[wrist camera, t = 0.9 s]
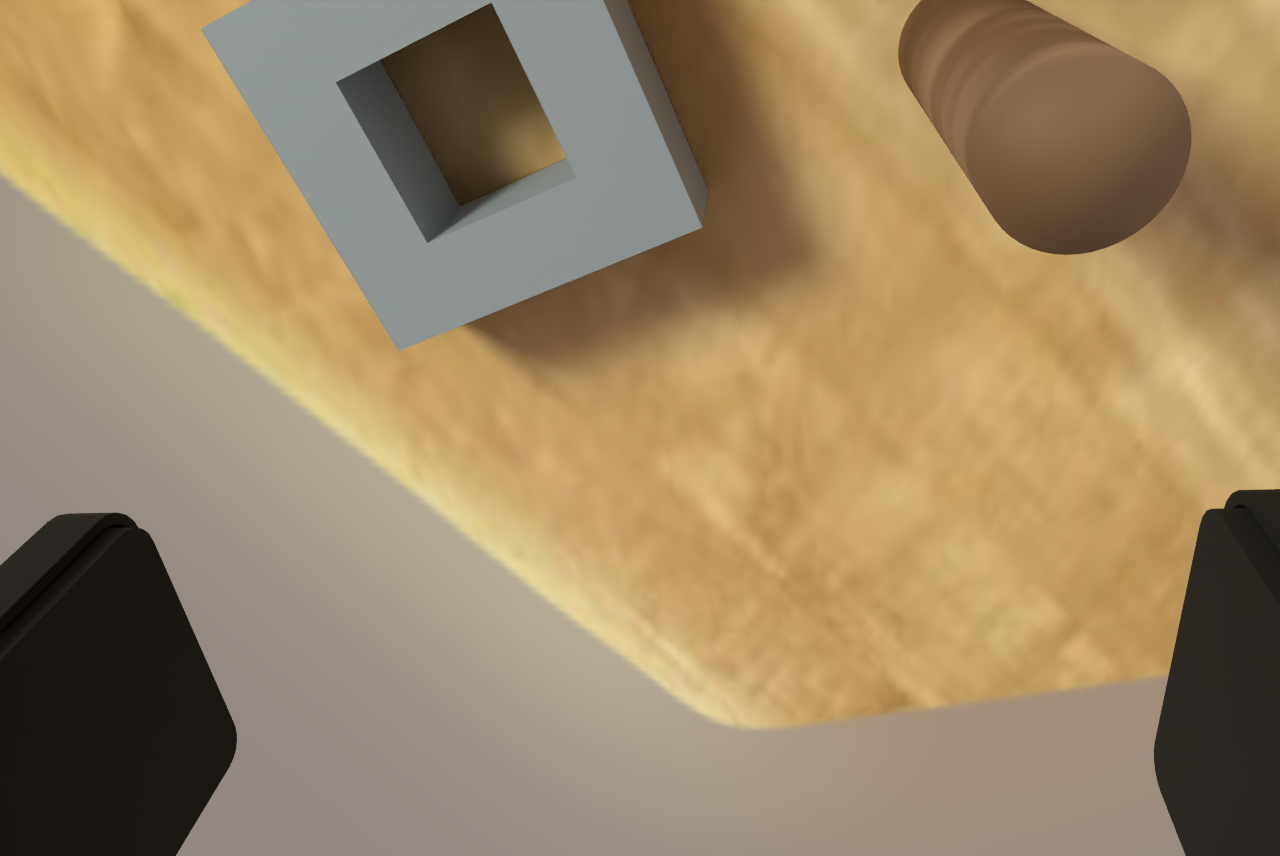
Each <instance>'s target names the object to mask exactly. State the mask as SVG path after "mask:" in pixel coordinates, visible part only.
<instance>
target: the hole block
mask: <svg viewBox="0 0 1280 856" xmlns="http://www.w3.org/2000/svg"><path fill="white" fill-rule="evenodd" d="M489 3H492V5H493V7H494V9H495V11H496V13H497V15H498V17H499V19H500V21H501V23H502V25H503V27H504V29H505V31H506V33H507V36H508V38H509V40H510V42H511V44H512V46H513V48H514V50H515V52H516V54H517V56H518V58H519V60H520V62H521V64H522V66H523V69H524V71H525V73H526V75H527V77H528V79H529V81H530V83H531V85H532V87H533V89H534V91H535V93H536V95H537V97H538V99H539V102H540V104H541V106H542V108H543V110H544V112H545V114H546V116H547V118H548V120H549V122H550V124H551V126H552V128H553V130H554V133H555V135H556V137H557V139H558V141H559V143H560V145H561V147H562V149H563V151H564V153H565V155H566V157H567V158H566V159H564V160H562V161H560V162H557V163H555V164H553V165H551V166H548V167H546V168H544V169H542V170H539V171H537V172H535V173H533V174H531V175H528V176H526V177H524V178H522V179H519V180H517V181H515V182H513V183H510V184H508V185H506V186H504V187H502V188H499V189H497V190H495V191H493V192H490V193H488V194H486V195H484V196H481V197H479V198H477V199H475V200H473V201H470V202H468V203H466V204H464V205H461V206H459V204H458V202H457V200H456V198H455V196H454V195H453V193H452V191H451V189H450V187H449V185H448V184H447V182H446V180H445V178H444V176H443V174H442V173H441V171H440V169H439V167H438V165H437V163H436V162H435V160H434V158H433V156H432V154H431V152H430V151H429V149H428V147H427V145H426V143H425V141H424V140H423V138H422V136H421V134H420V132H419V130H418V129H417V127H416V125H415V123H414V121H413V119H412V118H411V116H410V114H409V112H408V110H407V108H406V107H405V105H404V103H403V101H402V99H401V97H400V96H399V94H398V92H397V90H396V88H395V86H394V85H393V83H392V81H391V79H390V77H389V75H388V74H387V72H386V70H385V68H384V66H383V64H382V63H381V61H380V59H382V58H384V57H386V56H388V55H390V54H392V53H394V52H396V51H398V50H400V49H402V48H404V47H406V46H408V45H409V44H411V43H413V42H415V41H417V40H419V39H421V38H423V37H425V36H427V35H429V34H431V33H433V32H435V31H437V30H439V29H441V28H443V27H445V26H446V25H448V24H450V23H452V22H454V21H456V20H458V19H460V18H462V17H464V16H466V15H468V14H470V13H472V12H474V11H476V10H478V9H480V8H482V7H483V6H485V5H487V4H489ZM201 30H202V32H203V34H204V35H205V37H206V39H207V40H208V42H209V43H210V45H211V47H212V48H213V50H214V52H215V53H216V55H217V56H218V58H219V60H220V61H221V63H222V65H223V66H224V68H225V69H226V71H227V73H228V74H229V76H230V78H231V79H232V81H233V82H234V84H235V86H236V87H237V89H238V91H239V92H240V94H241V95H242V97H243V99H244V100H245V102H246V104H247V105H248V107H249V108H250V110H251V112H252V113H253V115H254V117H255V118H256V120H257V121H258V123H259V125H260V126H261V128H262V130H263V131H264V133H265V134H266V136H267V138H268V139H269V141H270V143H271V144H272V146H273V147H274V149H275V151H276V152H277V154H278V156H279V157H280V159H281V160H282V162H283V164H284V165H285V167H286V169H287V170H288V172H289V173H290V175H291V177H292V178H293V180H294V182H295V183H296V185H297V186H298V188H299V190H300V191H301V193H302V195H303V196H304V198H305V199H306V201H307V203H308V204H309V206H310V208H311V209H312V211H313V212H314V214H315V216H316V217H317V219H318V221H319V222H320V224H321V225H322V227H323V229H324V230H325V232H326V234H327V235H328V237H329V238H330V240H331V242H332V243H333V245H334V247H335V248H336V250H337V251H338V253H339V255H340V256H341V258H342V260H343V261H344V263H345V264H346V266H347V268H348V269H349V271H350V273H351V274H352V276H353V277H354V279H355V281H356V282H357V284H358V286H359V287H360V289H361V290H362V292H363V294H364V295H365V297H366V299H367V300H368V302H369V303H370V305H371V307H372V308H373V310H374V312H375V313H376V315H377V316H378V318H379V320H380V321H381V323H382V325H383V326H384V328H385V329H386V331H387V333H388V334H389V336H390V338H391V339H392V341H393V342H394V344H395V346H396V347H397V349H398V351H400V350H402V349H405V348H407V347H410V346H412V345H415V344H417V343H420V342H422V341H425V340H427V339H430V338H432V337H434V336H437V335H439V334H442V333H444V332H447V331H449V330H452V329H454V328H457V327H459V326H462V325H464V324H466V323H469V322H471V321H474V320H476V319H479V318H481V317H484V316H486V315H489V314H491V313H494V312H496V311H498V310H501V309H503V308H506V307H508V306H511V305H513V304H516V303H518V302H521V301H523V300H526V299H528V298H530V297H533V296H535V295H538V294H540V293H543V292H545V291H548V290H550V289H553V288H555V287H558V286H560V285H562V284H565V283H567V282H570V281H572V280H575V279H577V278H580V277H582V276H585V275H587V274H590V273H592V272H595V271H597V270H599V269H602V268H604V267H607V266H609V265H612V264H614V263H617V262H619V261H622V260H624V259H627V258H629V257H631V256H634V255H636V254H639V253H641V252H644V251H646V250H649V249H651V248H654V247H656V246H659V245H661V244H663V243H666V242H668V241H671V240H673V239H676V238H678V237H681V236H683V235H686V234H688V233H691V232H693V231H695V230H698V229H700V228H703V221H704V215H705V209H706V203H707V196H708V189H707V186H706V184H705V182H704V179H703V177H702V174H701V172H700V170H699V167H698V165H697V163H696V160H695V158H694V156H693V153H692V151H691V149H690V146H689V144H688V142H687V139H686V137H685V135H684V132H683V130H682V128H681V125H680V123H679V121H678V118H677V116H676V114H675V111H674V109H673V106H672V104H671V102H670V99H669V97H668V95H667V92H666V90H665V88H664V85H663V83H662V81H661V78H660V76H659V74H658V71H657V69H656V67H655V64H654V62H653V60H652V57H651V55H650V53H649V50H648V48H647V46H646V43H645V41H644V38H643V36H642V34H641V31H640V29H639V27H638V24H637V22H636V20H635V17H634V15H633V13H632V10H631V8H630V6H629V3H628V1H627V0H251V1H250V2H248V3H246V4H244V5H243V6H241V7H239V8H237V9H235V10H234V11H232V12H230V13H228V14H226V15H225V16H223V17H221V18H219V19H218V20H216V21H214V22H212V23H210V24H209V25H207V26H205V27H203V28H202V29H201Z"/></svg>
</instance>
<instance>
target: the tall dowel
mask: <svg viewBox="0 0 1280 856" xmlns="http://www.w3.org/2000/svg"><path fill="white" fill-rule="evenodd" d="M898 56H899V65H900V69H901V73H902V75H903V78H904V80H905V82H906V83H907V85H908V87H909V88H910V90H911V91H912V93H913V95H914V96H915V98H916V99H917V101H918V102H919V104H920V105H921V107H922V108H923V110H924V111H925V113H926V115H927V116H928V118H929V119H930V121H931V122H932V124H933V125H934V127H935V128H936V130H937V132H938V133H939V135H940V136H941V138H942V139H943V141H944V142H945V144H946V145H947V147H948V148H949V150H950V152H951V153H952V155H953V156H954V158H955V159H956V161H957V162H958V164H959V165H960V167H961V168H962V170H963V172H964V173H965V175H966V176H967V178H968V179H969V181H970V182H971V184H972V185H973V187H974V189H975V190H976V192H977V193H978V195H979V196H980V198H981V199H982V201H983V202H984V204H985V205H986V207H987V209H988V210H989V212H990V213H991V215H992V216H993V218H994V219H995V221H996V222H997V223H998V224H999V226H1000V227H1001V228H1002V229H1003V230H1004V231H1005V232H1006V233H1007V234H1008V235H1009V236H1011V237H1012V238H1014V239H1015V240H1017V241H1018V242H1019V243H1021V244H1023V245H1025V246H1028V247H1030V248H1032V249H1035V250H1038V251H1041V252H1046V253H1052V254H1064V255H1069V254H1082V253H1087V252H1093V251H1096V250H1100V249H1103V248H1106V247H1109V246H1111V245H1114V244H1116V243H1118V242H1120V241H1122V240H1124V239H1126V238H1128V237H1129V236H1131V235H1133V234H1134V233H1136V232H1137V231H1138V230H1140V229H1141V228H1143V227H1144V226H1145V225H1146V224H1147V223H1149V222H1150V221H1151V220H1152V219H1153V218H1154V217H1155V216H1156V215H1157V214H1158V213H1159V212H1160V211H1161V210H1162V209H1163V208H1164V206H1165V205H1166V204H1167V202H1168V201H1169V200H1170V198H1171V197H1172V196H1173V194H1174V192H1175V190H1176V189H1177V187H1178V185H1179V183H1180V181H1181V179H1182V177H1183V174H1184V172H1185V169H1186V166H1187V162H1188V159H1189V153H1190V147H1191V127H1190V119H1189V116H1188V112H1187V109H1186V106H1185V104H1184V102H1183V100H1182V97H1181V96H1180V94H1179V93H1178V91H1177V90H1176V88H1175V87H1174V85H1173V84H1172V83H1171V82H1170V81H1169V80H1168V79H1167V78H1166V77H1165V76H1164V75H1162V74H1161V73H1160V72H1158V71H1157V70H1156V69H1154V68H1152V67H1150V66H1148V65H1146V64H1145V63H1143V62H1141V61H1139V60H1137V59H1135V58H1133V57H1131V56H1129V55H1128V54H1126V53H1124V52H1122V51H1120V50H1118V49H1116V48H1114V47H1112V46H1111V45H1109V44H1107V43H1105V42H1103V41H1101V40H1099V39H1097V38H1096V37H1094V36H1092V35H1090V34H1088V33H1086V32H1084V31H1082V30H1080V29H1079V28H1077V27H1075V26H1073V25H1071V24H1069V23H1067V22H1065V21H1063V20H1062V19H1060V18H1058V17H1056V16H1054V15H1052V14H1050V13H1048V12H1047V11H1045V10H1043V9H1041V8H1039V7H1037V6H1035V5H1033V4H1031V3H1030V2H1028V1H1026V0H921V1H920V3H919V4H918V5H917V6H916V7H915V8H914V10H913V11H912V13H911V14H910V16H909V17H908V19H907V21H906V23H905V25H904V28H903V30H902V34H901V37H900V42H899V55H898Z"/></svg>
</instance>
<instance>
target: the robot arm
mask: <svg viewBox="0 0 1280 856" xmlns="http://www.w3.org/2000/svg"><path fill="white" fill-rule="evenodd" d="M236 743H237V734H236V728H235V725H234V723H233V720H232V718H231V715H230V713H229V711H228V709H227V706H226V704H225V702H224V700H223V697H222V695H221V693H220V691H219V688H218V686H217V684H216V682H215V679H214V677H213V675H212V672H211V670H210V668H209V666H208V663H207V661H206V659H205V657H204V654H203V652H202V650H201V648H200V646H199V643H198V641H197V639H196V636H195V634H194V632H193V629H192V627H191V625H190V623H189V621H188V618H187V616H186V614H185V611H184V609H183V607H182V605H181V603H180V600H179V598H178V596H177V593H176V591H175V589H174V587H173V584H172V582H171V580H170V577H169V576H168V573H167V571H166V568H165V566H164V564H163V562H162V559H161V557H160V555H159V553H158V550H157V548H156V546H155V544H154V541H153V540H152V538H151V537H150V535H149V533H147V532H146V531H145V530H143V529H140V528H138V526H137V525H136V523H135V522H134V521H133V520H132V519H131V518H129V517H128V516H127V515H124V514H120V513H79V514H64V515H59V516H56V517H55V518H53V519H52V520H50V521H49V522H47V523H46V524H45V525H44V526H43V527H42V528H41V529H40V530H39V531H37V532H36V533H35V534H34V535H33V536H32V537H31V538H30V539H29V540H28V541H27V542H25V543H24V544H23V545H22V546H21V547H20V548H19V549H18V550H17V551H16V552H15V553H14V554H12V555H11V556H10V557H9V558H8V559H7V560H6V561H5V562H4V563H3V564H1V565H0V856H176V854H177V853H178V851H179V849H180V848H181V846H182V844H183V843H184V841H185V839H186V838H187V836H188V834H189V833H190V831H191V829H192V828H193V826H194V824H195V823H196V821H197V819H198V818H199V816H200V814H201V813H202V811H203V809H204V808H205V806H206V805H207V803H208V801H209V800H210V798H211V796H212V795H213V793H214V791H215V790H216V788H217V786H218V785H219V783H220V781H221V780H222V778H223V777H224V775H225V773H226V772H227V770H228V768H229V767H230V764H231V762H232V760H233V758H234V754H235V751H236ZM1154 763H1155V772H1156V776H1157V781H1158V785H1159V788H1160V791H1161V794H1162V796H1163V799H1164V801H1165V804H1166V806H1167V809H1168V811H1169V814H1170V817H1171V819H1172V822H1173V824H1174V827H1175V829H1176V832H1177V834H1178V837H1179V840H1180V842H1181V845H1182V847H1183V850H1184V852H1185V855H1186V856H1280V489H1275V490H1238V491H1236V492H1234V493H1232V494H1231V496H1230V497H1229V498H1228V500H1227V501H1226V504H1225V507H1224V509H1210V510H1208V511H1206V513H1205V514H1204V516H1203V517H1202V520H1201V524H1200V527H1199V532H1198V537H1197V542H1196V547H1195V552H1194V556H1193V561H1192V566H1191V571H1190V576H1189V580H1188V585H1187V590H1186V595H1185V600H1184V604H1183V609H1182V614H1181V619H1180V624H1179V629H1178V633H1177V638H1176V643H1175V648H1174V653H1173V657H1172V662H1171V667H1170V672H1169V677H1168V682H1167V686H1166V692H1165V696H1164V701H1163V706H1162V710H1161V715H1160V720H1159V725H1158V730H1157V734H1156V739H1155V747H1154Z"/></svg>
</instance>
